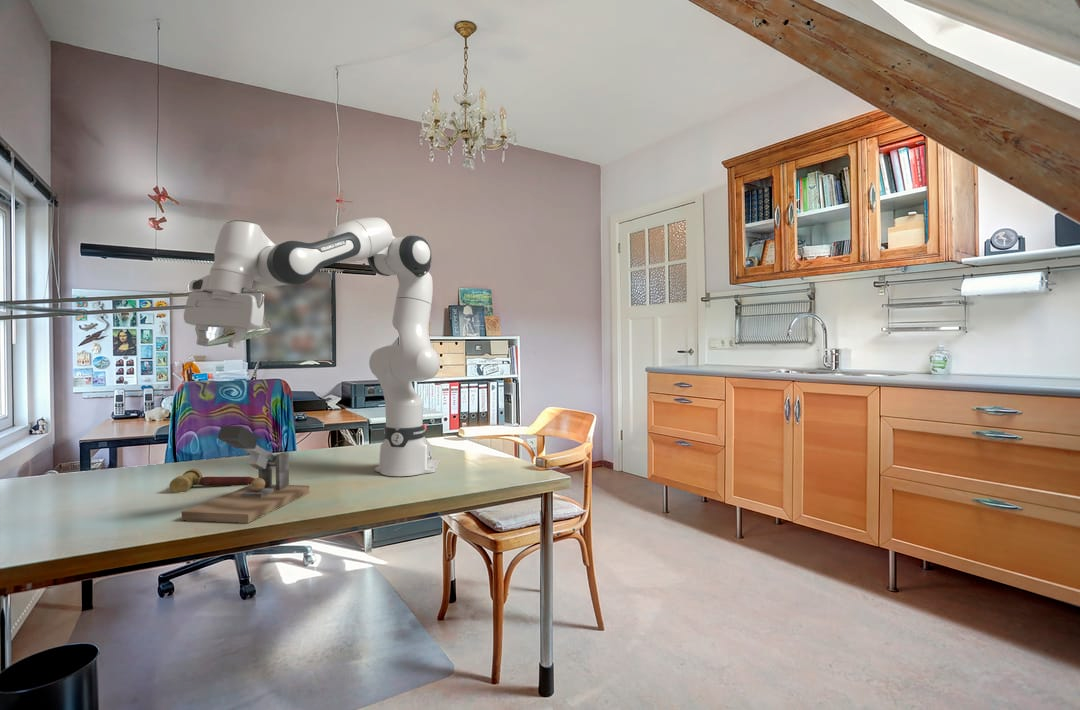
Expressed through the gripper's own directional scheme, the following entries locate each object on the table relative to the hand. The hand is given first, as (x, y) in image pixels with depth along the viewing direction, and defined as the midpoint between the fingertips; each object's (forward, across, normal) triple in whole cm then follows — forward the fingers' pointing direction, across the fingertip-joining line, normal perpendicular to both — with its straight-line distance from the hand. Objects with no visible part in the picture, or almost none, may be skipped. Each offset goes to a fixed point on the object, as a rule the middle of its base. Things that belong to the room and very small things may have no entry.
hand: (217, 346), depth 120 cm
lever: (+26, -2, -13) cm, 29 cm away
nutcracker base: (+36, -3, -16) cm, 40 cm away
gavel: (+36, +21, -28) cm, 50 cm away
